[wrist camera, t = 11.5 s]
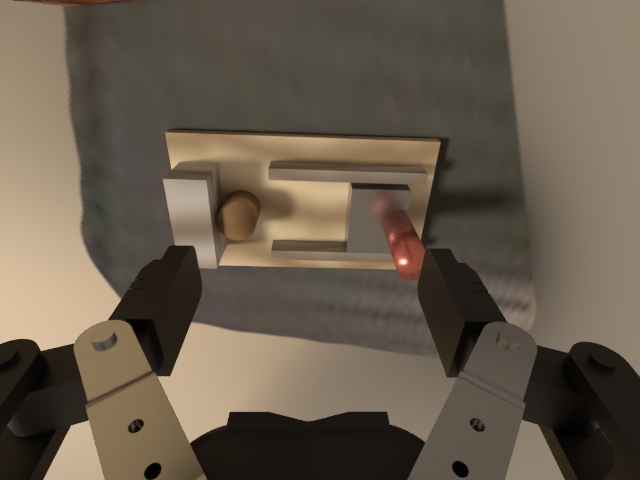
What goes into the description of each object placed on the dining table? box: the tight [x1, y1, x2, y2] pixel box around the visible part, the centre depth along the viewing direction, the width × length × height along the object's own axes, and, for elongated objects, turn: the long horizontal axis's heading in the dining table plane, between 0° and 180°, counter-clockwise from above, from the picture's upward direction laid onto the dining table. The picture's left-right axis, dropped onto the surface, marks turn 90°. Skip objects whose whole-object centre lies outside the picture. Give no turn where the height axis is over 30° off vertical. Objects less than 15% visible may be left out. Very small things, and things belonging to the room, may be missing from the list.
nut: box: [216, 190, 260, 240], centre depth 39 cm, size 4×4×4 cm
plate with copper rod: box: [345, 183, 426, 280], centre depth 37 cm, size 8×6×11 cm
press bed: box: [163, 130, 441, 269], centre depth 40 cm, size 16×28×6 cm, turn 88°
